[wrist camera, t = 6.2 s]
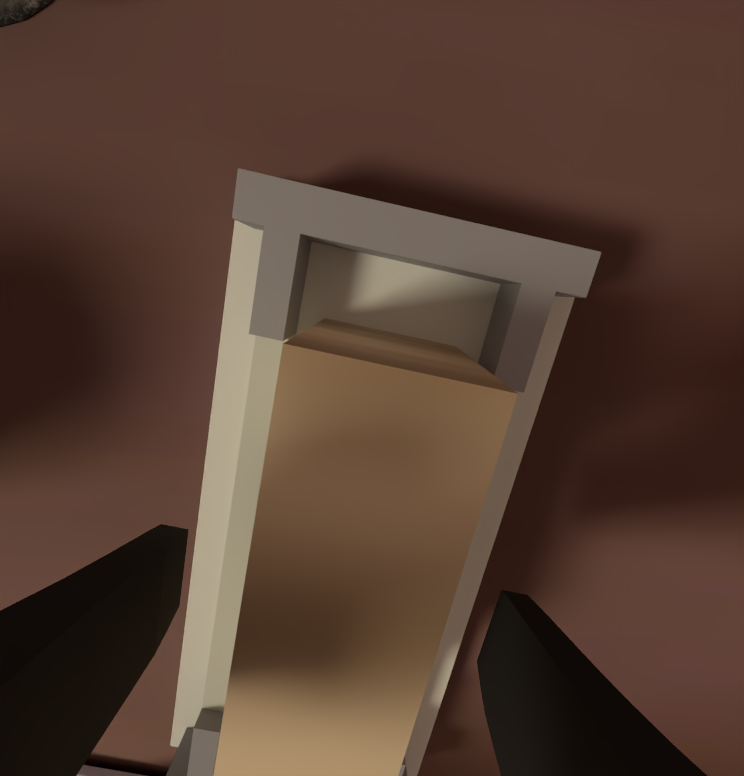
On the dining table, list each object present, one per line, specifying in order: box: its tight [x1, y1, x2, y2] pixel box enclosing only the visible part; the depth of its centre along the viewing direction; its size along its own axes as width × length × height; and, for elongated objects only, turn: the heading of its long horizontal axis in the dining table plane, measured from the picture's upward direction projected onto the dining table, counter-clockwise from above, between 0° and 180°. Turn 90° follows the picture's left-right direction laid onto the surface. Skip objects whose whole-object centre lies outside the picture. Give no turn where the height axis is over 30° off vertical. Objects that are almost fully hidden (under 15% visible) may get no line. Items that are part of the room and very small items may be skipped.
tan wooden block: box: [213, 318, 518, 776], centre depth 10 cm, size 11×4×5 cm, turn 168°
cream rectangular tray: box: [166, 168, 601, 776], centre depth 12 cm, size 19×9×3 cm, turn 168°
